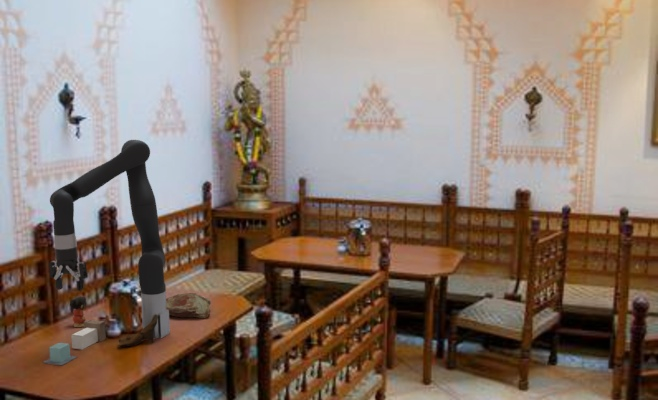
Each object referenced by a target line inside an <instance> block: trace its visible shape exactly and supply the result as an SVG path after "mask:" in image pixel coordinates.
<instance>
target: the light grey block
mask: <svg viewBox="0 0 658 400" xmlns="http://www.w3.org/2000/svg"><path fill="white" fill-rule="evenodd" d="M70 336H71V349H77V350H85V349H86V348H88V347H89V346H92V345H93V344H96V343H97V342H100V343H101V342H103V341H105V340H106V339H107V337H106V321H105V320H92V319H87V320H85V322H84V326H83V329H80V330H79V331H77V332H75V333H72V334H71V335H70Z"/></svg>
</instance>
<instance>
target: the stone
mask: <svg viewBox="0 0 658 400" xmlns="http://www.w3.org/2000/svg"><path fill="white" fill-rule="evenodd" d="M211 302H212V301H211V299H210V297H209V298H208V297H205V296H204V295H200V294H197V293H195V292H187V293H186V292H185V293H181V294H175V295H173V296H169V297H166V308H167V309H168V310H169V316H172V317H178V318H181V317H182V318H183V317H185V318H186V317H187V318H192V317H196V318H201V319H206V318H207V317H208V316H209V314H210V312H211V311H210V310H211V307H210V305H211Z"/></svg>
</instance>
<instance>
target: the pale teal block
mask: <svg viewBox="0 0 658 400" xmlns="http://www.w3.org/2000/svg"><path fill="white" fill-rule="evenodd" d="M70 345H71V344H70V343H67V342H66V343H65V342H58V343H55V344H54V345H52V346H49V359H50V361H53V362H60V363H61V362H63V361H65V360H67V359H69V358H70V356H71V348H70V347H71V346H70Z"/></svg>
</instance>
